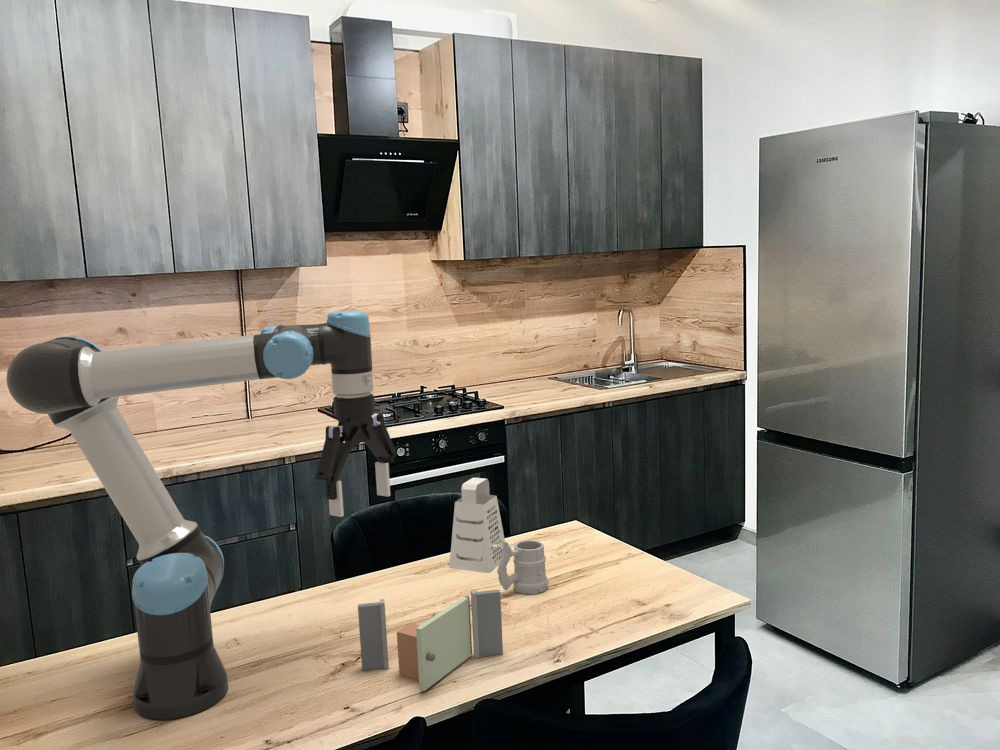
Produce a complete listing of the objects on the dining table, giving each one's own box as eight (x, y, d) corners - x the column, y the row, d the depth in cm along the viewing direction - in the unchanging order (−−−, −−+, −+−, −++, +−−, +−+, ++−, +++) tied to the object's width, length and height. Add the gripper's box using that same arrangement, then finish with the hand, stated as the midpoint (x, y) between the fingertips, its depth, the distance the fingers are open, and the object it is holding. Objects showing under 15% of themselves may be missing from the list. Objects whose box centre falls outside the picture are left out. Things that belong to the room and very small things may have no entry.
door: (429, 692, 139) (425, 630, 137) (419, 689, 140) (415, 628, 138) (478, 654, 151) (475, 597, 149) (468, 652, 152) (466, 595, 150)
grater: (507, 557, 200) (504, 477, 197) (489, 573, 191) (485, 489, 188) (468, 552, 205) (465, 473, 202) (449, 567, 195) (444, 485, 192)
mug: (555, 589, 180) (553, 536, 178) (508, 603, 174) (506, 548, 172) (535, 578, 186) (533, 527, 185) (490, 591, 180) (488, 538, 179)
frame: (362, 671, 148) (357, 605, 146) (362, 666, 149) (357, 601, 148) (503, 655, 151) (500, 590, 150) (501, 650, 153) (498, 586, 151)
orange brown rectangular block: (399, 674, 146) (396, 631, 145) (413, 664, 149) (410, 622, 148) (431, 683, 142) (428, 640, 141) (444, 673, 146) (442, 630, 145)
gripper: (322, 407, 141) (331, 527, 144) (410, 384, 162) (416, 489, 165) (290, 405, 145) (299, 521, 148) (380, 383, 166) (386, 485, 169)
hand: (361, 505), depth 157 cm, fingers open, 13 cm apart
